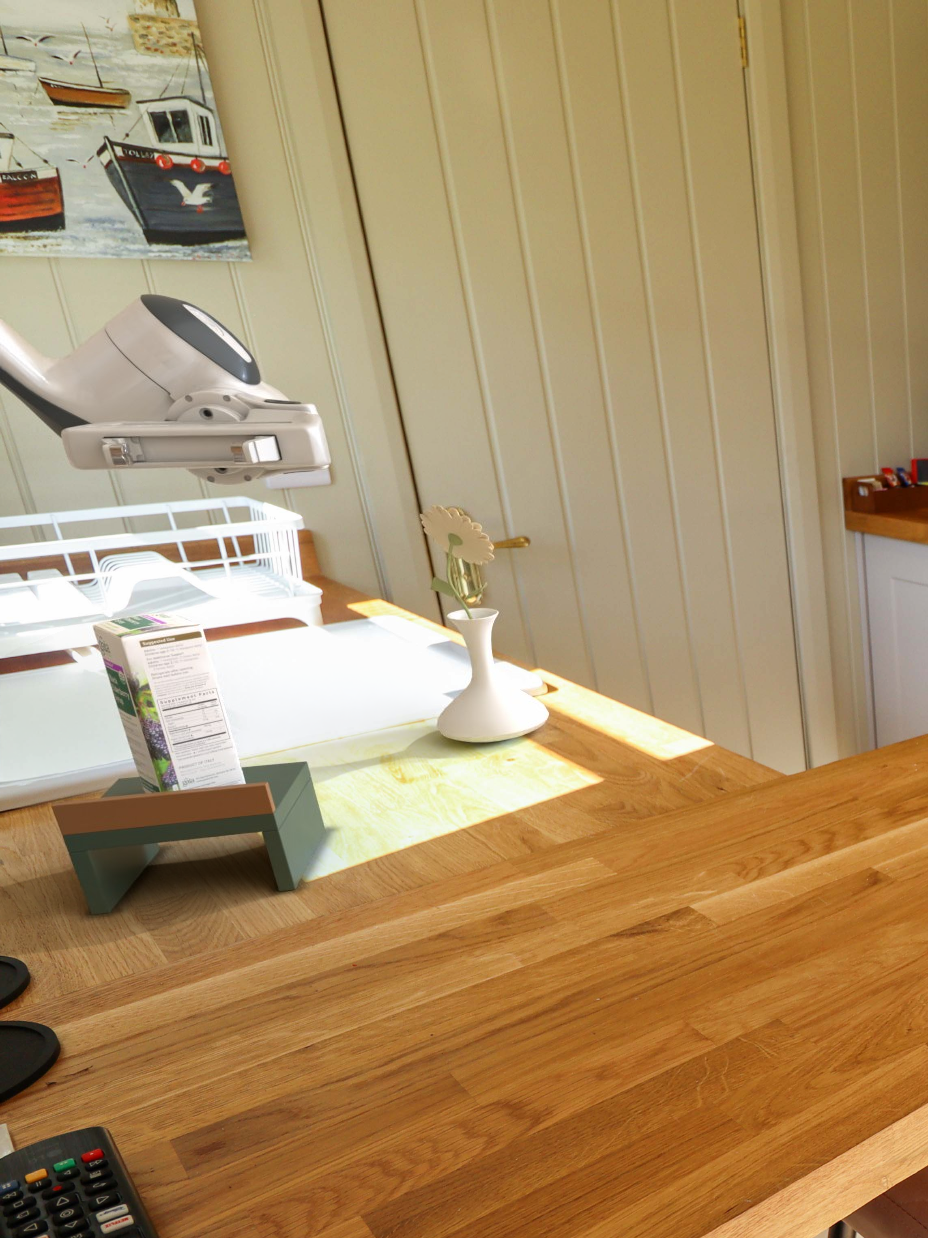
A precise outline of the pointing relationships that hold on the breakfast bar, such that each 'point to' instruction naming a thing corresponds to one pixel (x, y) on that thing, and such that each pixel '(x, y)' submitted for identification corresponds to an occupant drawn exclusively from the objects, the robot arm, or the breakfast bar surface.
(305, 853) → the shelf
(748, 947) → the breakfast bar surface
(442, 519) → the flower in vase
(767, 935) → the breakfast bar surface
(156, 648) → the syrup box
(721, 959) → the breakfast bar surface
